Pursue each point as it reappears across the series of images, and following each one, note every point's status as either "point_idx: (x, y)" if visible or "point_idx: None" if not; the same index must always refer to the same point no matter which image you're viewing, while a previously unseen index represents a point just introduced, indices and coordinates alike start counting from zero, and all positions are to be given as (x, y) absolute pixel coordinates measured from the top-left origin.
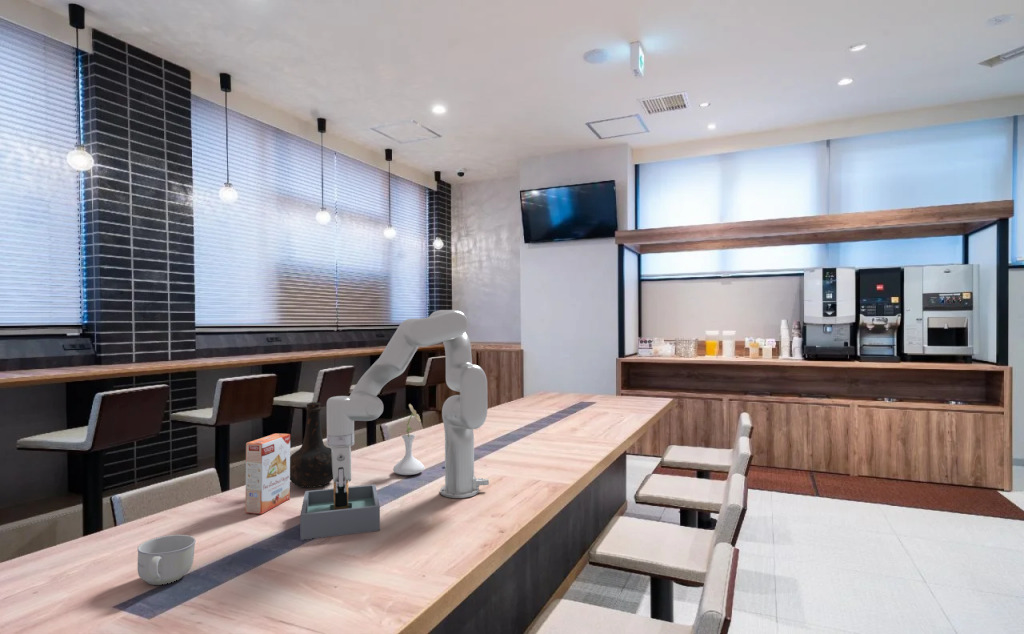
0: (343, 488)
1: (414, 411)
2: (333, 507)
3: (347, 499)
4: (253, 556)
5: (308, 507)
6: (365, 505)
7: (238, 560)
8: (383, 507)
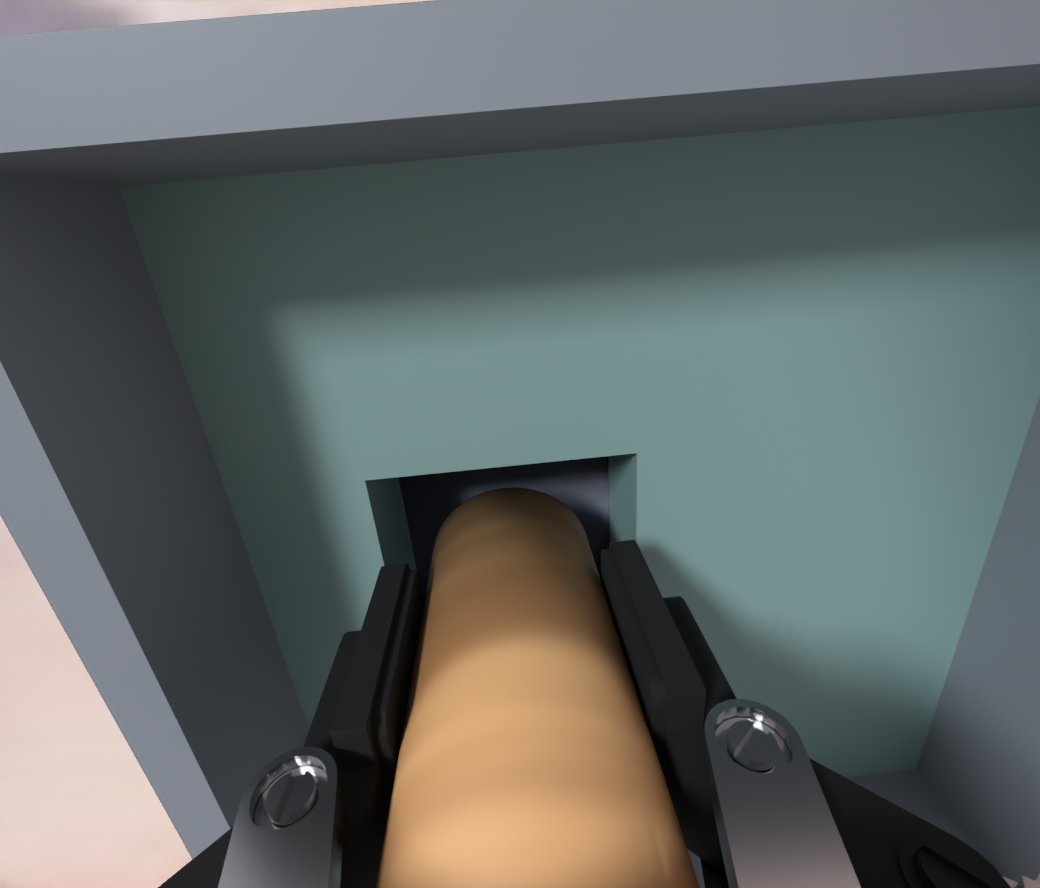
0: (963, 854)
1: None
2: None
3: (560, 574)
4: None
5: None
6: (520, 286)
7: None
8: (219, 16)
